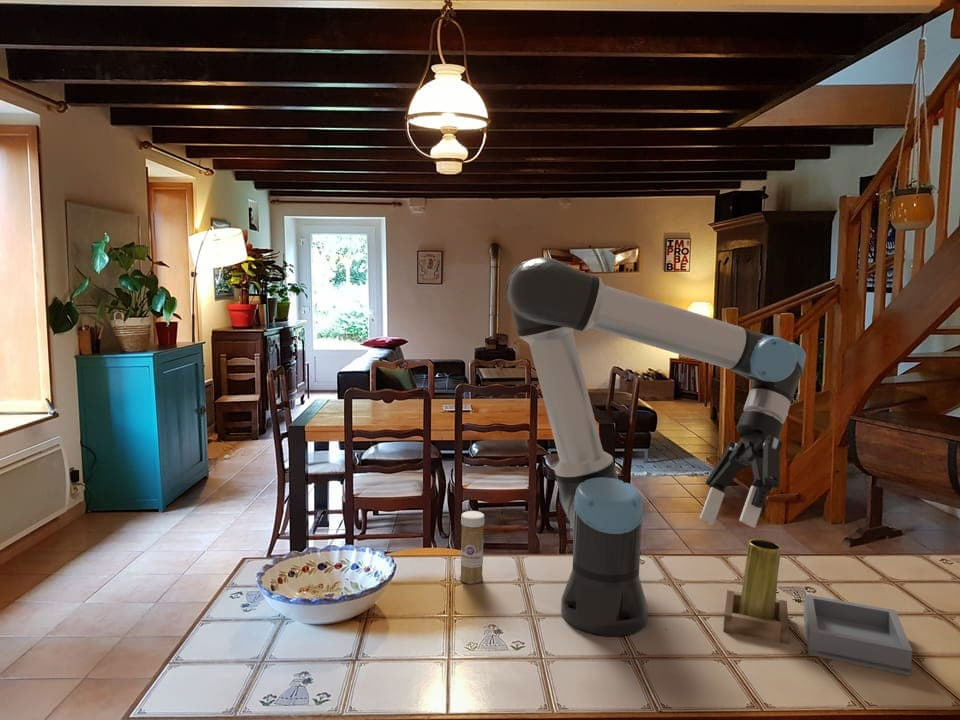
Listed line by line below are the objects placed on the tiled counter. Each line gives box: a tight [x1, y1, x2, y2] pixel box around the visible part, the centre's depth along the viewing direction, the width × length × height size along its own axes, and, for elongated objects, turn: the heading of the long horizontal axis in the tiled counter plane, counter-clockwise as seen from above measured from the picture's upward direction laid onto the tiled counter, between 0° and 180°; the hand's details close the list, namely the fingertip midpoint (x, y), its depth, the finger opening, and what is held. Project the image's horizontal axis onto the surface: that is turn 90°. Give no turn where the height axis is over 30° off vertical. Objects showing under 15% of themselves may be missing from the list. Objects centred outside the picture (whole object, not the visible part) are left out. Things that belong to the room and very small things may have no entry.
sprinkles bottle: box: [459, 510, 485, 585], centre depth 131 cm, size 5×5×14 cm
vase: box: [737, 538, 782, 621], centre depth 116 cm, size 6×6×14 cm
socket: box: [723, 589, 790, 645], centre depth 117 cm, size 10×10×3 cm
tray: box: [803, 593, 913, 676], centre depth 111 cm, size 14×14×4 cm
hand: (725, 523), depth 120 cm, fingers open, 13 cm apart
